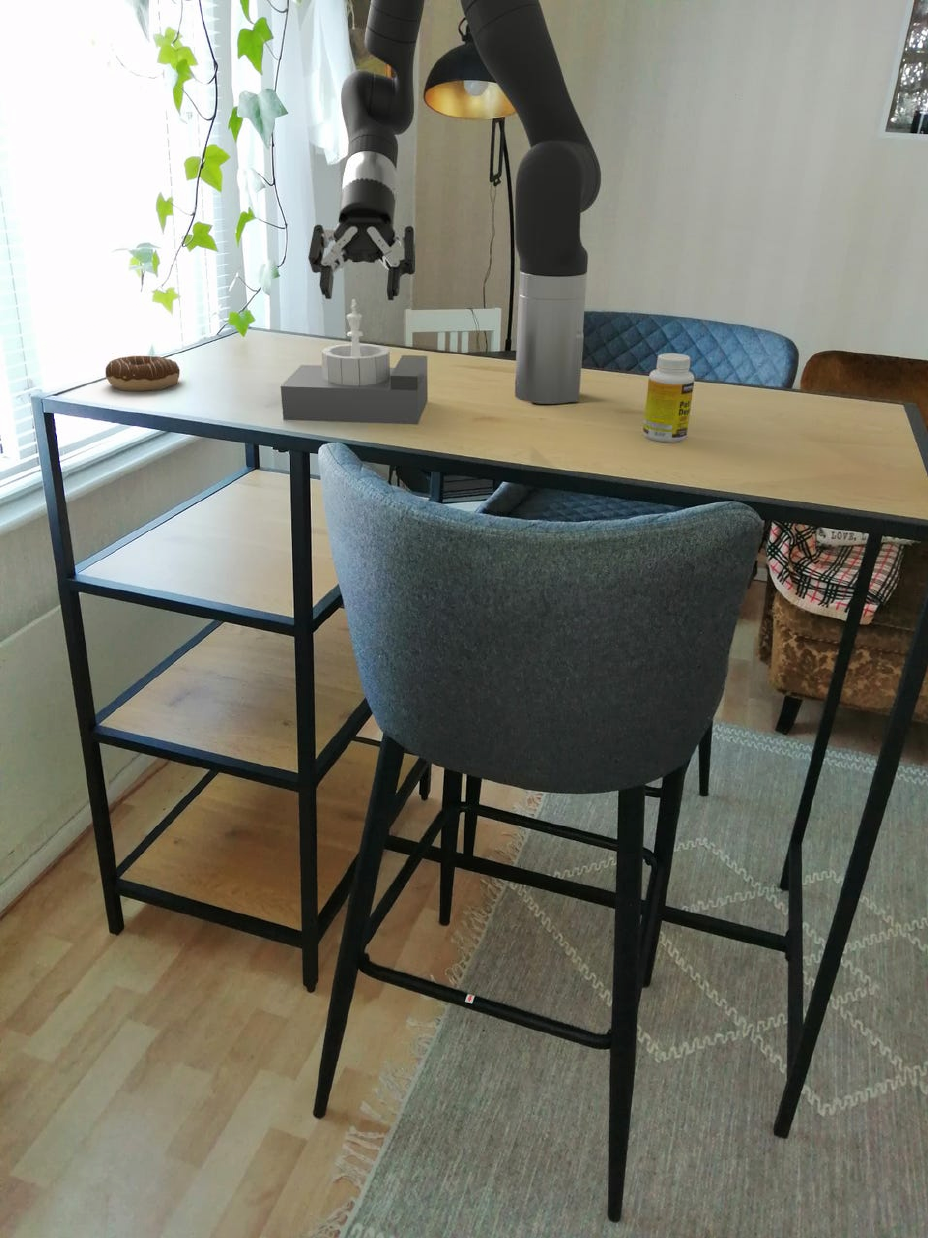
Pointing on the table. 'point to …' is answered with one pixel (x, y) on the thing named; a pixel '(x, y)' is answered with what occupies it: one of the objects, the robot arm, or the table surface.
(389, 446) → the table surface
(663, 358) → the supplement bottle
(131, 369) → the donut
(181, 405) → the table surface
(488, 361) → the table surface
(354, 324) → the chess piece
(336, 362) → the camera body
